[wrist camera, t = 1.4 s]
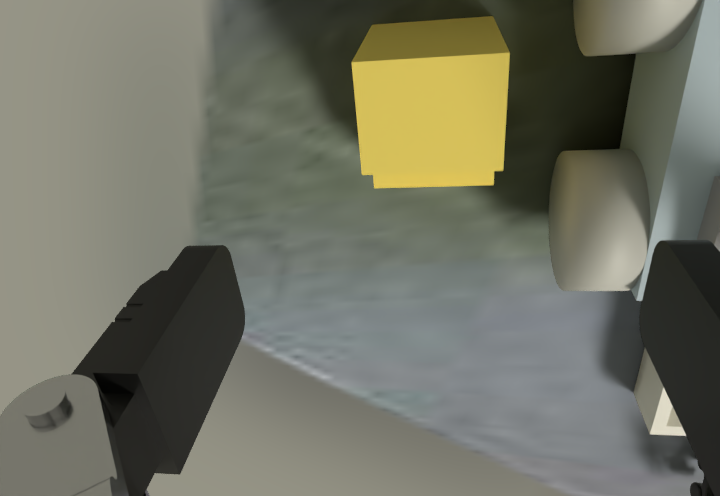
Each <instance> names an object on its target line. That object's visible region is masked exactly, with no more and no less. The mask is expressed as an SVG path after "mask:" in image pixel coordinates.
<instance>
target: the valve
mask: <svg viewBox="0 0 720 496" xmlns="http://www.w3.org/2000/svg"><path fill="white" fill-rule="evenodd" d="M698 466H699V468H700V469H701V470H702V468H701V466H700V464H699V462H698ZM702 471H703V470H702ZM690 493H691V496H714V494H713V492H712V490H711V488H710V485H709V483H708V481H707V479H706V477H705V475H704V480H703V483H697V482H694V483H692V484H691V487H690Z"/></svg>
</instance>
